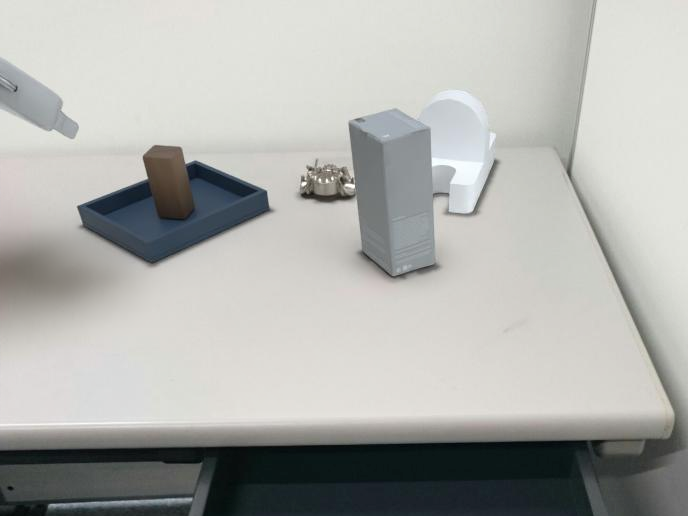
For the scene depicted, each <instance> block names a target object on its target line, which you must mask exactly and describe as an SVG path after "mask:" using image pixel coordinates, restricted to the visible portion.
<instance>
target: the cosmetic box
mask: <svg viewBox="0 0 688 516" xmlns="http://www.w3.org/2000/svg"><path fill="white" fill-rule="evenodd" d="M348 132H349V142H350V151H351V158H352V159H351V160H352V168H353V177H354V178H355V187H356V188H355V195H356V196H355V197H356V204H357V213H358V223H359V230H360V231H359V233H360V241H361V252H362V253H364V254H365V255H366V256H368V257H369V259H371V260H372V261H373V262H375V263H376V264H377V265H378V266H379V267H381V269H383V270H384V271H385V272H386V273H388V274H389V275H390V276H392V277H396V276H399V275H400V276H401V275H403V274H405V273H409V272H411V271H415V270H418V269H422V268H425V267H429V266H433V265H435V264H436V242H435V239H436V238H435V213H434V212H435V211H434V194H433V184H432V157H431V128H430V127H428V126H426V125H424V124H423V123H421V122H419V121H417V119H415V118H413V117H412V116H410V115H408V114H407V113H405V112H402V110H400V109H398V108H397V107H395V108H391V109H386V110H383V111H379V112H376V113H373V114H368V115H365V116H361V117H357V118H353V119H349V120H348Z"/></svg>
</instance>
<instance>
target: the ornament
mask: <svg viewBox="0 0 688 516" xmlns="http://www.w3.org/2000/svg"><path fill="white" fill-rule="evenodd" d="M305 168H306V170H307V172H306V176H305V175H304V174H301V176H300V185H299V190H298V191H299V194H304V193H306V194H307V195H311V194H312V193H313V194H315V195H318V196H333V195H336V194H339V195H340V196H341V197H347V196H349V197H351V196H353V195H354V194H356V187H355V178H354V176H352V177H351V175H350V173H349V170H348V167H347V166H342V167H337V166H336V165H335V164H332V163H328V164H324V165H323V167H322V166H316V167H315V166H311V165H308V164H307V165H306V166H305Z"/></svg>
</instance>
